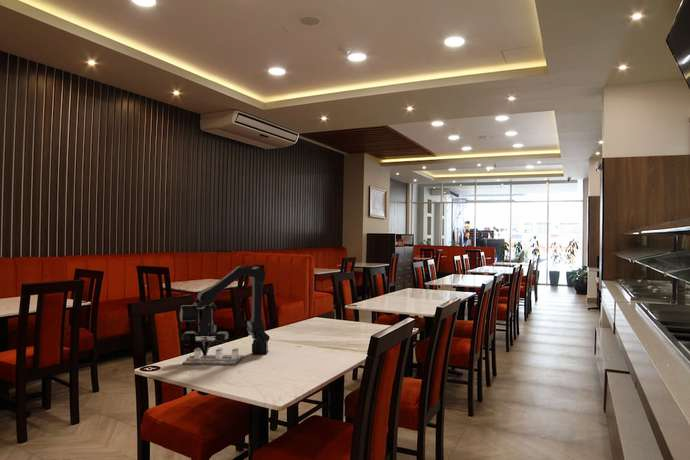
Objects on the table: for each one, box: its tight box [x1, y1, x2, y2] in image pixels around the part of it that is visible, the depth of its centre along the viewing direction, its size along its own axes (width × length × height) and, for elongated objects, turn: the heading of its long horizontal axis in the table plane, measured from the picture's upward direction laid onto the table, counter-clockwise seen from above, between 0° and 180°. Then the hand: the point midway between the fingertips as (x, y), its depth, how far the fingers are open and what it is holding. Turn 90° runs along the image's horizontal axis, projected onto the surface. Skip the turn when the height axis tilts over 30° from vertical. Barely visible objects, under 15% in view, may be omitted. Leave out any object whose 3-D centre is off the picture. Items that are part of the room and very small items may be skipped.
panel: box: [182, 354, 245, 366], centre depth 198 cm, size 22×13×2 cm, turn 88°
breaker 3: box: [231, 347, 239, 359], centre depth 198 cm, size 2×3×4 cm, turn 178°
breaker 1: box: [193, 347, 203, 359], centre depth 198 cm, size 2×3×4 cm, turn 178°
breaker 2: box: [215, 347, 224, 359], centre depth 198 cm, size 2×3×4 cm, turn 178°
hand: (205, 355), depth 198 cm, fingers closed
